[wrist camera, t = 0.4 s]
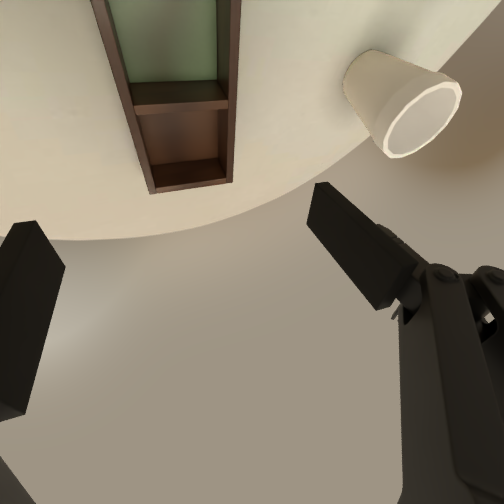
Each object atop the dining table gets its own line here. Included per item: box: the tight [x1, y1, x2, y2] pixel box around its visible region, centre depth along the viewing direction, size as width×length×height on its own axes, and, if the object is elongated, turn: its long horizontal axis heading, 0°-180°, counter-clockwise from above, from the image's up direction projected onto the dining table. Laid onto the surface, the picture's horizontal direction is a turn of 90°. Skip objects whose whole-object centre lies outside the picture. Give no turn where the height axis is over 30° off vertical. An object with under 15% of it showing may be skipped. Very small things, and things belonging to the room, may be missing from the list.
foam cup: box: [342, 50, 462, 158], centre depth 34 cm, size 10×9×13 cm
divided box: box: [90, 0, 241, 194], centre depth 29 cm, size 12×23×6 cm, turn 174°
